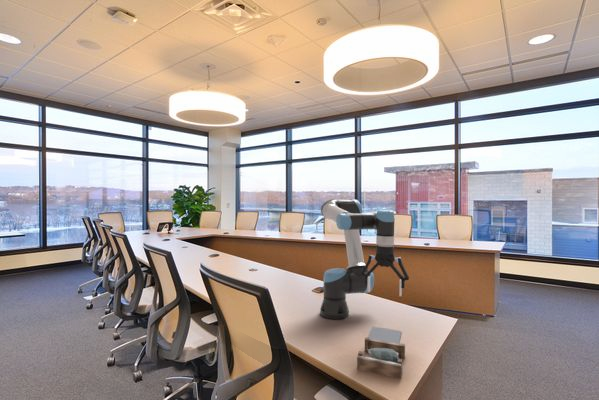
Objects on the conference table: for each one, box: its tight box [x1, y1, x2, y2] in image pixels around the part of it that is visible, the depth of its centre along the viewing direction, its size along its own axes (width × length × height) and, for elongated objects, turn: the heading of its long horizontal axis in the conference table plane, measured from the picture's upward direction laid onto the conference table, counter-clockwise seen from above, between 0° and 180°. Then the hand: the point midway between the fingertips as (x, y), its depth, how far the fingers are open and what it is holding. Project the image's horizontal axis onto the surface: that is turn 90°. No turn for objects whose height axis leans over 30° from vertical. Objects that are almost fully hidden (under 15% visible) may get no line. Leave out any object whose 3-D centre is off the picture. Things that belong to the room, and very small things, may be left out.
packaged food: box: [367, 348, 404, 366], centre depth 114 cm, size 9×12×5 cm
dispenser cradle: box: [356, 336, 406, 379], centre depth 116 cm, size 15×18×5 cm
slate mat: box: [367, 326, 402, 344], centre depth 137 cm, size 13×16×1 cm
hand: (384, 293), depth 137 cm, fingers open, 13 cm apart
